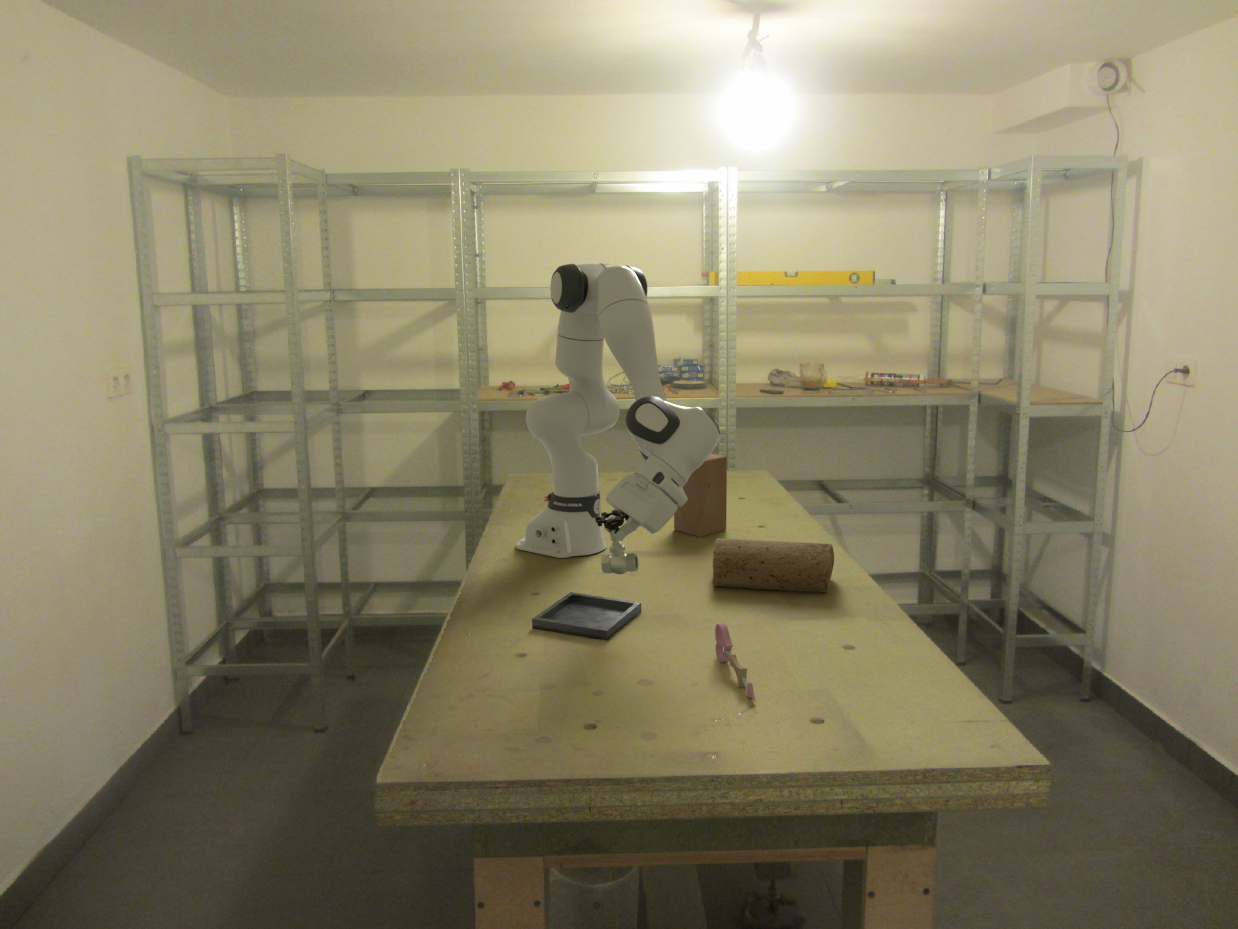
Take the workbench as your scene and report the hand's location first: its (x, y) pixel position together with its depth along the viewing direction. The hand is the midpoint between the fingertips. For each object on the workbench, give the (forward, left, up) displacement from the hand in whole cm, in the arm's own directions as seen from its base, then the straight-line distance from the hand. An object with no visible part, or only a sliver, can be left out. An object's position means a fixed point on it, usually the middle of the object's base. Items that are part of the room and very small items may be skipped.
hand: (611, 534), depth 174 cm
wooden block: (-6, +67, -18) cm, 69 cm away
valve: (+1, +1, -8) cm, 8 cm away
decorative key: (+30, -15, -18) cm, 38 cm away
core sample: (+23, +33, -18) cm, 44 cm away
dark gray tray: (-5, -1, -18) cm, 18 cm away
